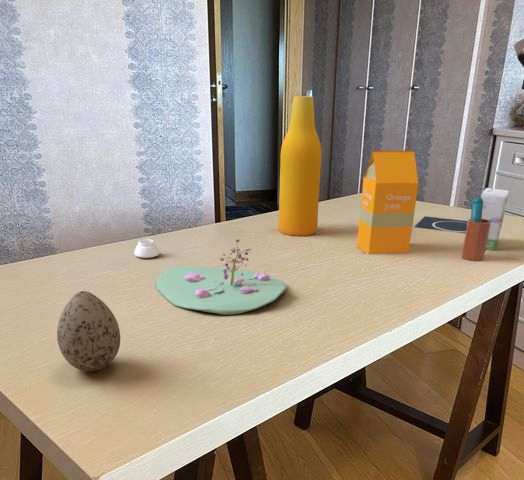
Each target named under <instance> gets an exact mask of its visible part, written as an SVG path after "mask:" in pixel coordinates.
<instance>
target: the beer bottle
mask: <svg viewBox="0 0 524 480" xmlns="http://www.w3.org/2000/svg"><path fill="white" fill-rule="evenodd" d="M314 100H315V99H314V96H312V95H311V96H310V95H294V96H293V101H292V107H291V115H290V123H289V126H288V130H287V133H286V134H285V136H284V139H283V141H282V144H281V149H280V163H279V165H280V167H279V168H280V169H279V170H280V171H279V198H278V199H279V200H278V201H279V205H278V206H279V207H278V222H277V223H278V224H277V225H278V231H279V232H280V233H281V234H283V235H287V236H292V237H293V236H296V237H302V236H303V237H304V236H305V237H306V236H311V235H315V233H316V232H317V230H318V226H319V225H318V224H319V202H320V183H321V170H322V169H321V168H322V157H323V156H322V155H323V153H322V144H321V142H320V141H321V140H320V138H319V136H318V132H317V129H316V123H315V121H316V120H315V101H314Z"/></svg>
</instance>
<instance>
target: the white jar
mask: <svg viewBox="0 0 524 480" xmlns="http://www.w3.org/2000/svg"><path fill="white" fill-rule="evenodd" d="M137 243H138V244H136V246H135V248H134V251H133V255H134V256H136V257H137V258H141V259H151V258H155V257H157V256H160V254H161V251H160V249H159V247H158V245H157V244H156V243H155V240H153V239H149V238H147V239H146V238H145V239H144V238H143V239H139V240H138V242H137Z"/></svg>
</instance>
